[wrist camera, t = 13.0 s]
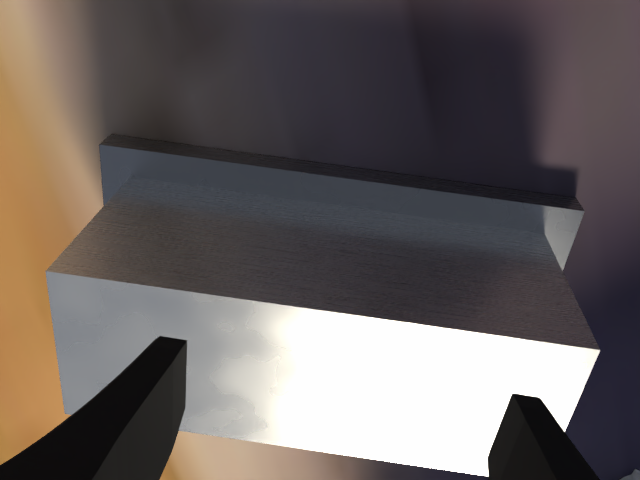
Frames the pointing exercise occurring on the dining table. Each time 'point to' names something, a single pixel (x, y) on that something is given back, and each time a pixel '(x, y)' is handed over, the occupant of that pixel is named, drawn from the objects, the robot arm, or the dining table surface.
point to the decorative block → (633, 476)
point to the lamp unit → (324, 301)
